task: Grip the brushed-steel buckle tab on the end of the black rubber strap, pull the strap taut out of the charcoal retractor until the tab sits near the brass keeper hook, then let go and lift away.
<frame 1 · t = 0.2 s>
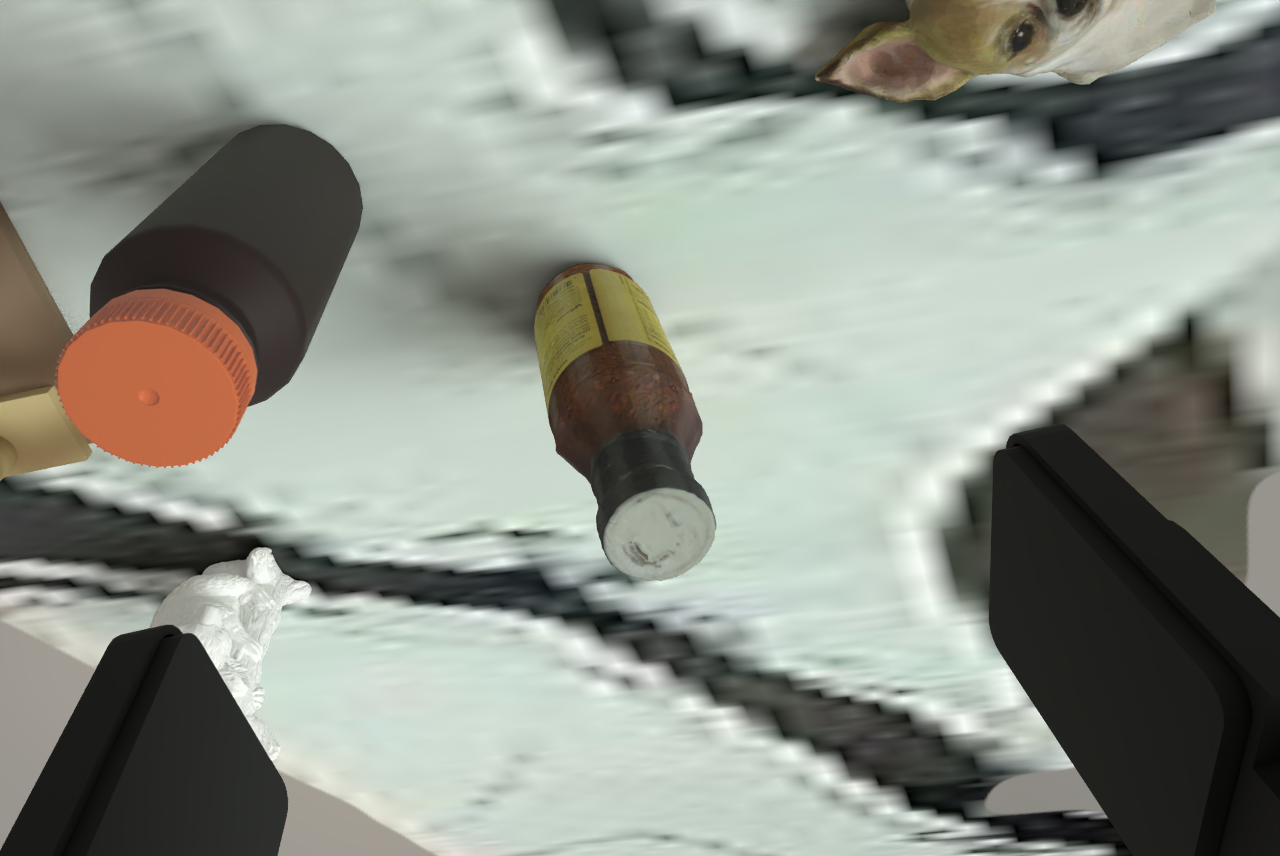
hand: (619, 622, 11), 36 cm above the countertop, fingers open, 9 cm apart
sauce bottle: (594, 311, 48), on the countertop
vinegar: (290, 194, 43), on the countertop
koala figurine: (252, 573, 54), on the countertop
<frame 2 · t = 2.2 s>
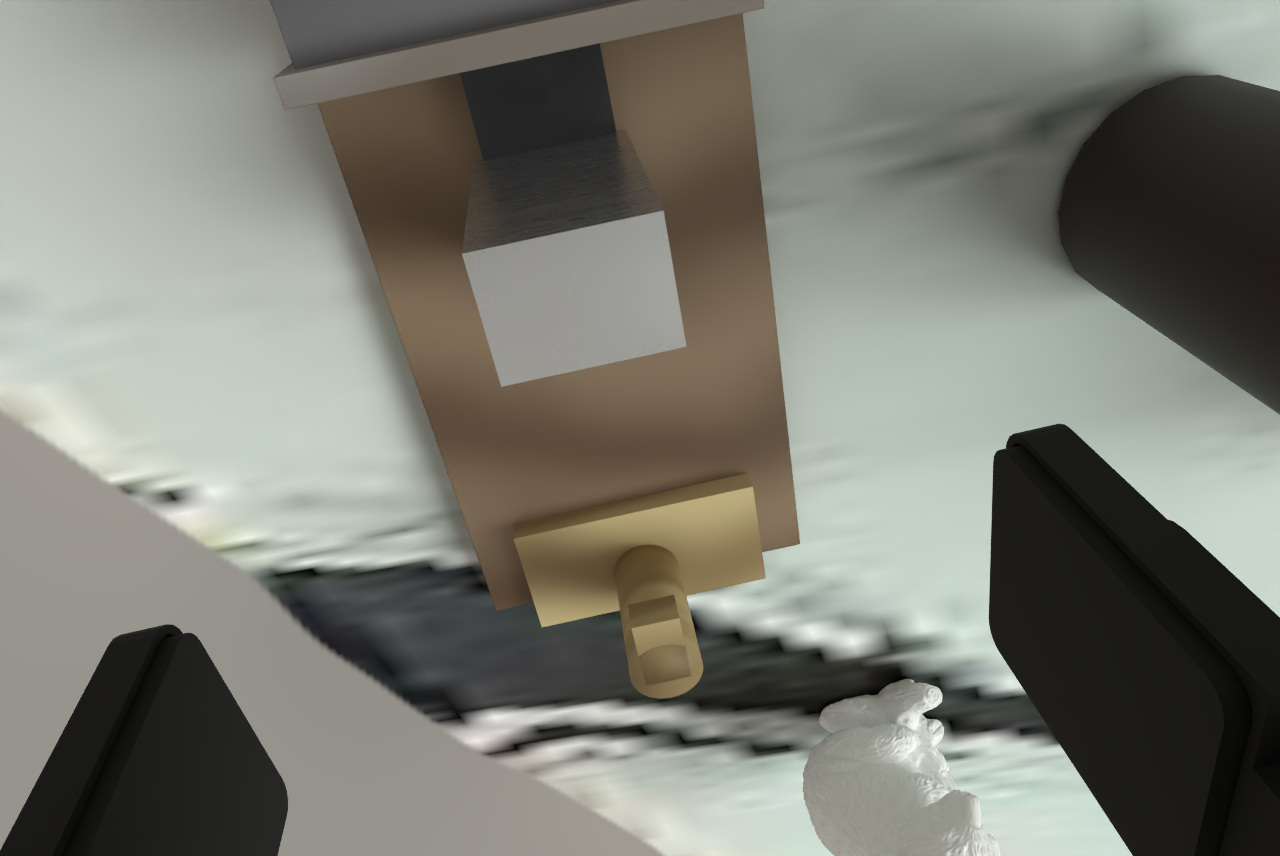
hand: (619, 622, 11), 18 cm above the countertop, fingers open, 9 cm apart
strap: (514, 3, 19), point 5 cm above the countertop, slide at 0.0 cm
vinegar: (1155, 186, 28), on the countertop
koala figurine: (870, 710, 39), on the countertop
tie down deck: (567, 217, 26), on the countertop
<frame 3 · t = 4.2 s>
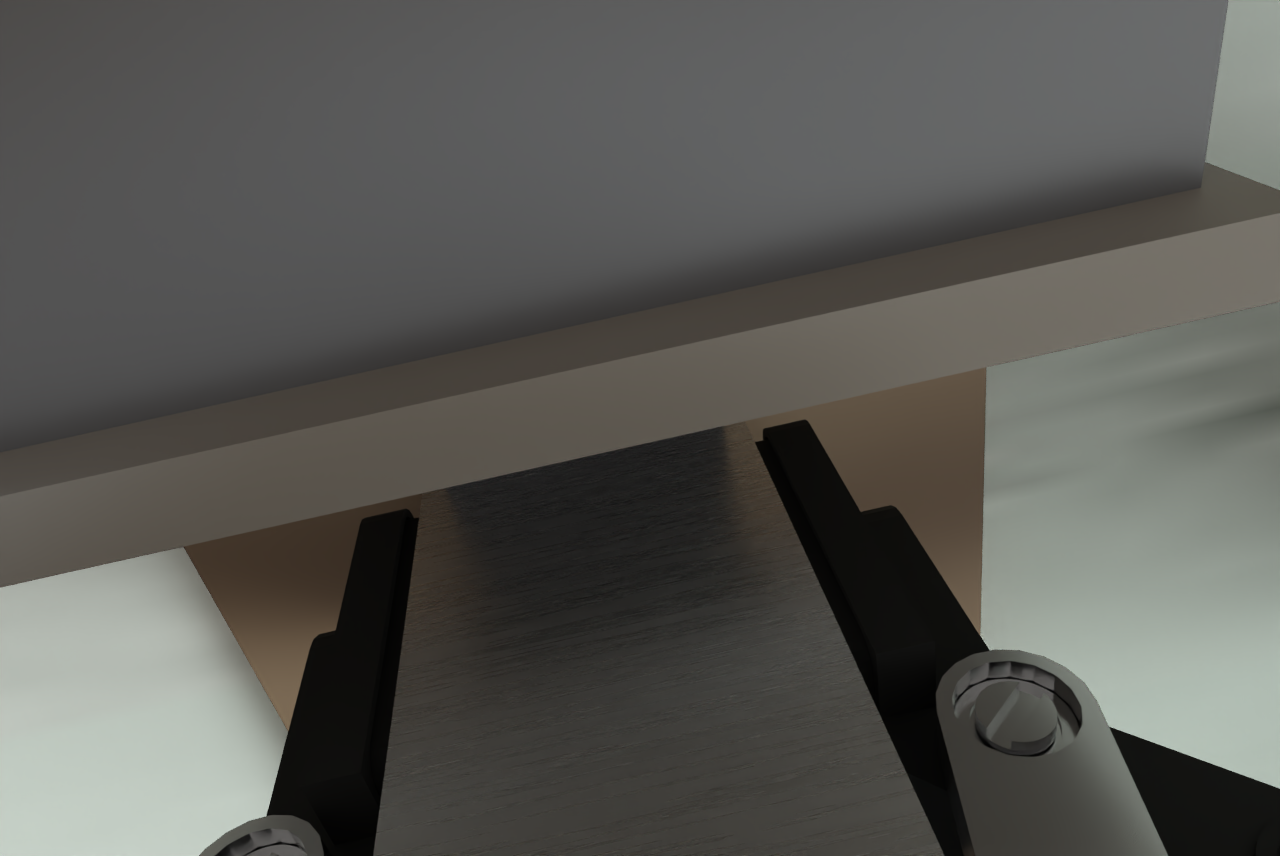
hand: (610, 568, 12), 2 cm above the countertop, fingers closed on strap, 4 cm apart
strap: (506, 248, 7), point 5 cm above the countertop, slide at 0.0 cm, touching gripper
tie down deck: (608, 522, 14), on the countertop
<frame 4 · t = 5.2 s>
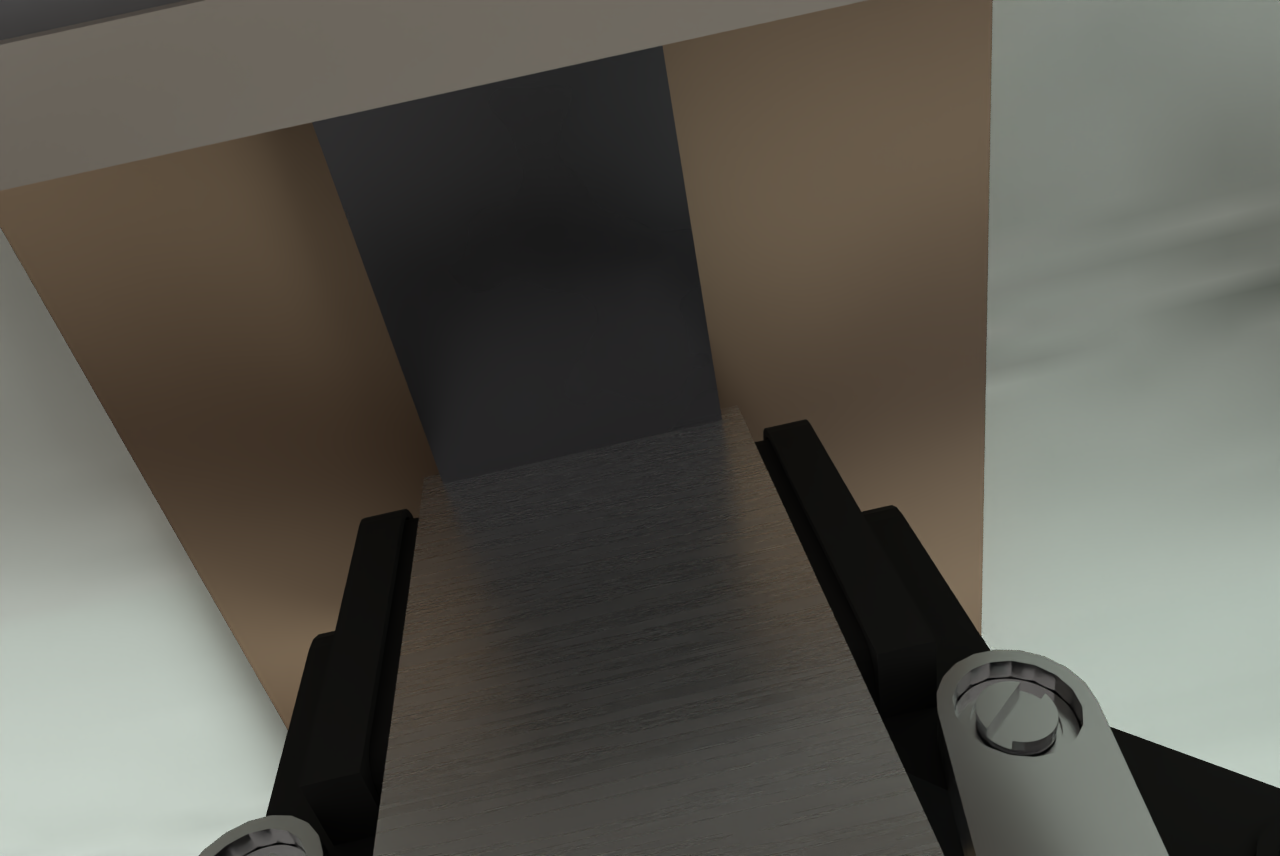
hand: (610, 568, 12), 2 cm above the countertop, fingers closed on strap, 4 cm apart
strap: (504, 248, 7), point 5 cm above the countertop, slide at 2.2 cm, touching gripper
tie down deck: (577, 399, 13), on the countertop
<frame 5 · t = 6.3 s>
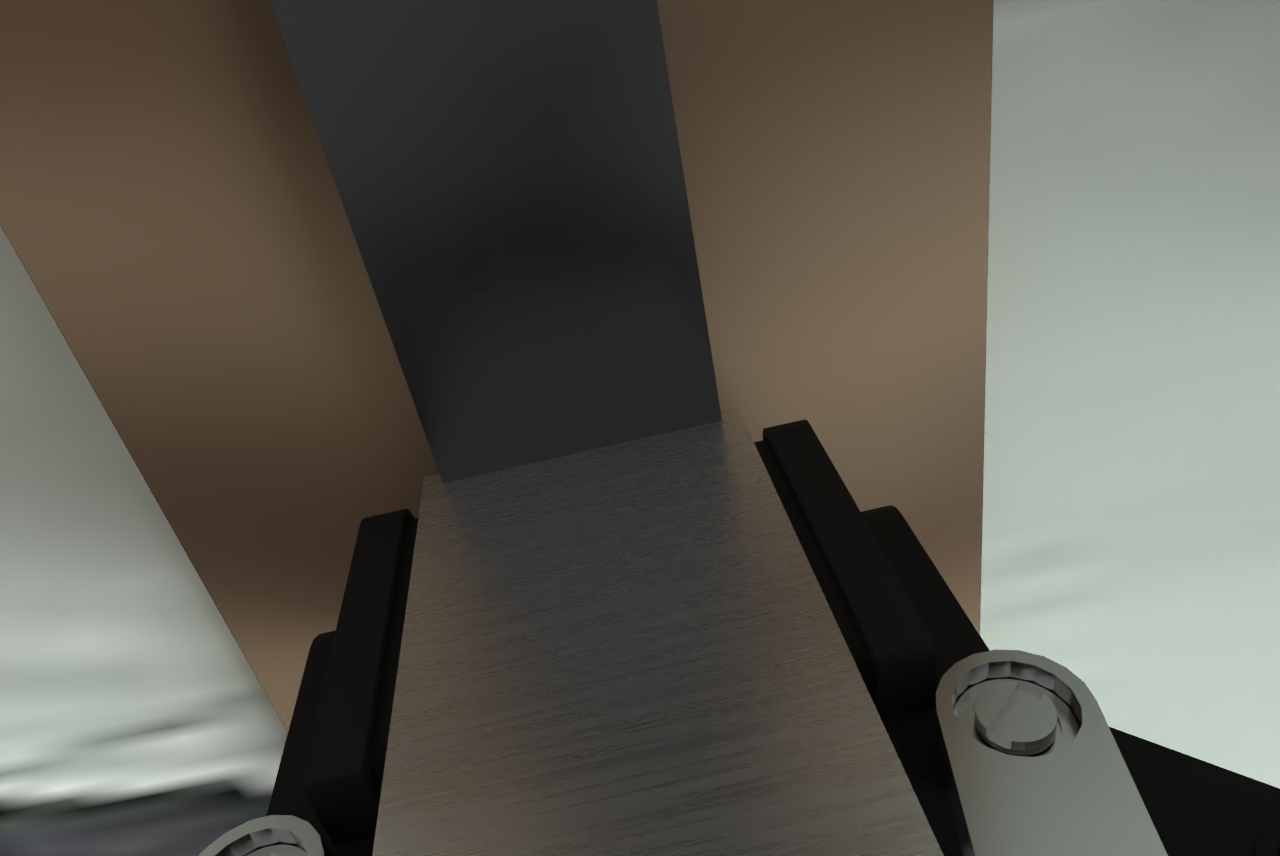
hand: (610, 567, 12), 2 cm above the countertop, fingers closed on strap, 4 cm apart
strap: (505, 248, 7), point 5 cm above the countertop, slide at 7.4 cm, touching gripper
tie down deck: (479, 7, 10), on the countertop
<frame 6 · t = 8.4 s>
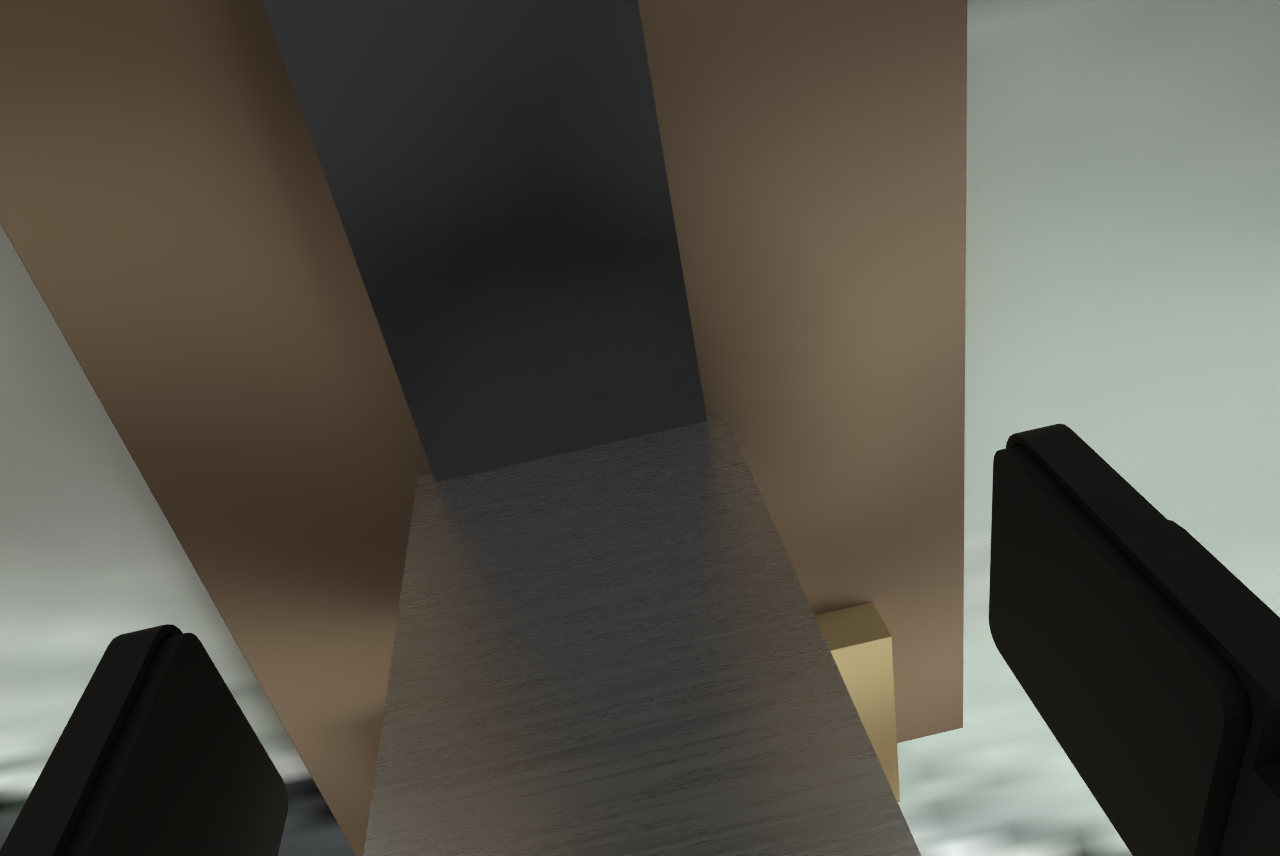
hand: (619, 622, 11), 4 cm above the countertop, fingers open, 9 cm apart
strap: (492, 254, 7), point 5 cm above the countertop, slide at 7.5 cm
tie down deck: (467, 10, 10), on the countertop
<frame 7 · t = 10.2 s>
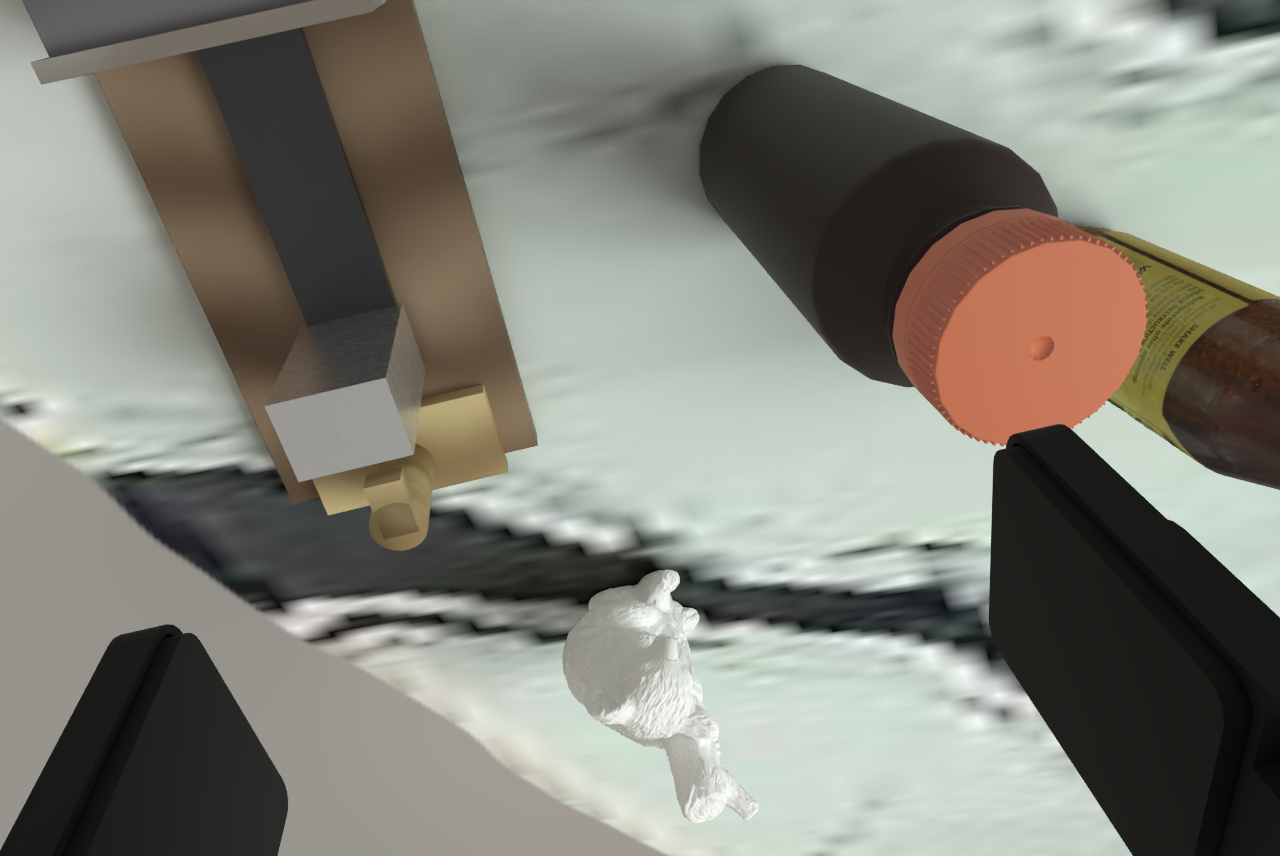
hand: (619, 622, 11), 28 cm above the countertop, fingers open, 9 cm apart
sauce bottle: (1071, 284, 42), on the countertop
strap: (302, 249, 31), point 5 cm above the countertop, slide at 7.5 cm
vinegar: (777, 151, 37), on the countertop
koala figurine: (635, 601, 47), on the countertop
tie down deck: (313, 179, 35), on the countertop
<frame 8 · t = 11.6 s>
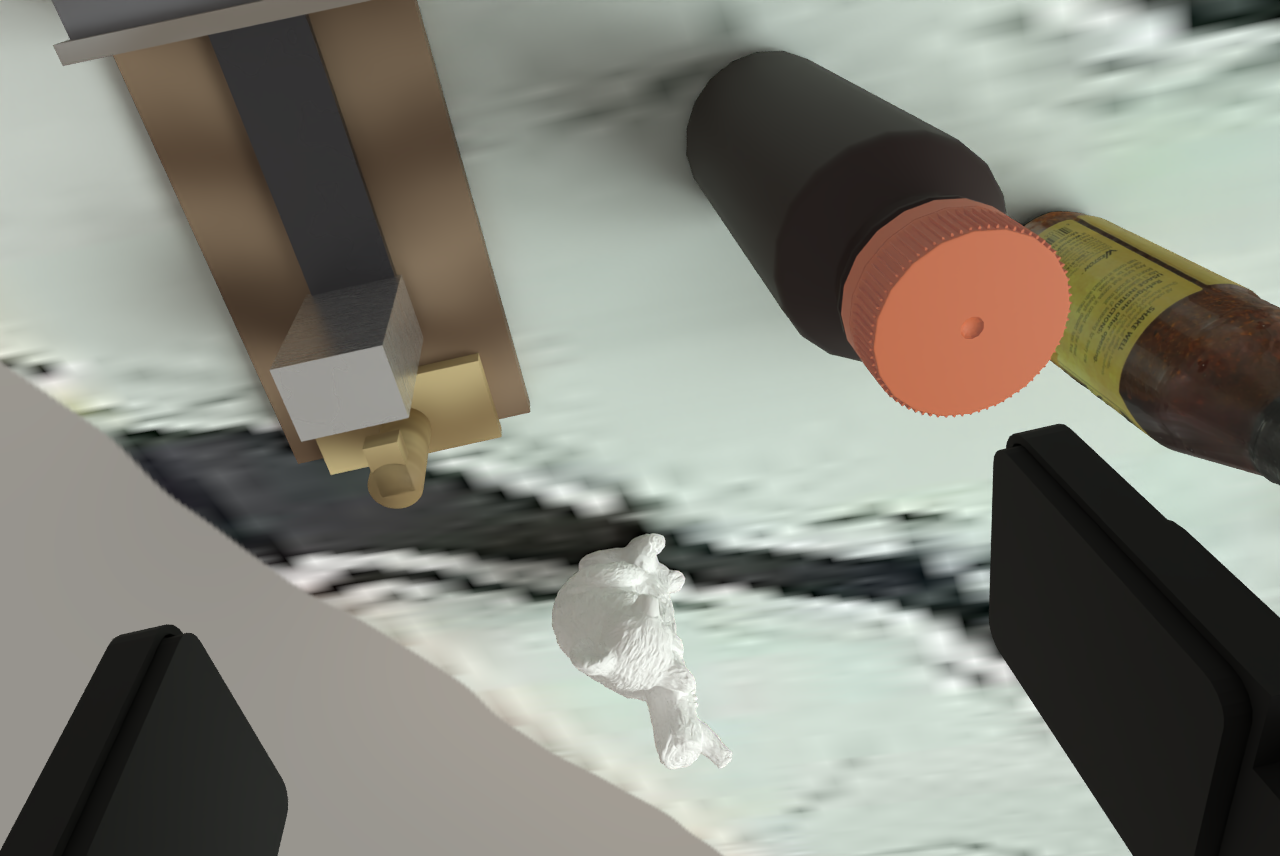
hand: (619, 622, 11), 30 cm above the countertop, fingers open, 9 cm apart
sauce bottle: (1047, 265, 43), on the countertop
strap: (305, 222, 33), point 5 cm above the countertop, slide at 7.5 cm
vinegar: (761, 134, 39), on the countertop
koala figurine: (624, 563, 49), on the countertop
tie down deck: (317, 155, 36), on the countertop
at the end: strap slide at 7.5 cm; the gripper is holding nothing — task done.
